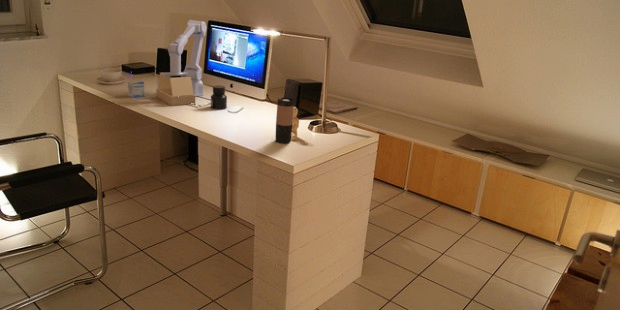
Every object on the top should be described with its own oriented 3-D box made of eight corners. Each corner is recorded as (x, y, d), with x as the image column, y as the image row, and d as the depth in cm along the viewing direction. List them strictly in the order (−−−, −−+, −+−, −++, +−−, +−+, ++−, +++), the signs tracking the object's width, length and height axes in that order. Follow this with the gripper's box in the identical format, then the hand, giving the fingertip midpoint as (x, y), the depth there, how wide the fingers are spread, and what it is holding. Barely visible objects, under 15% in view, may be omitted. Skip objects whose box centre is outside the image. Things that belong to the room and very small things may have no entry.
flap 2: (193, 94, 273) (193, 94, 272) (172, 96, 266) (172, 96, 265) (190, 76, 272) (190, 76, 272) (169, 77, 265) (170, 77, 264)
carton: (179, 95, 291) (179, 87, 289) (195, 104, 275) (195, 95, 273) (156, 97, 282) (156, 88, 280) (171, 106, 266) (171, 97, 264)
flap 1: (158, 88, 280) (158, 88, 281) (178, 87, 288) (178, 86, 288) (160, 73, 275) (160, 72, 275) (180, 72, 282) (180, 71, 282)
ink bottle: (216, 104, 278) (216, 84, 274) (229, 107, 275) (230, 86, 271) (207, 108, 269) (207, 86, 265) (221, 110, 266) (221, 89, 262)
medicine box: (132, 98, 276) (132, 83, 273) (128, 96, 278) (127, 81, 275) (144, 96, 282) (144, 81, 279) (140, 94, 284) (139, 80, 281)
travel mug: (291, 144, 222) (294, 101, 215) (274, 143, 221) (277, 100, 215) (290, 139, 229) (294, 97, 223) (274, 138, 229) (277, 96, 222)
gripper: (165, 66, 264) (166, 91, 269) (190, 66, 273) (190, 89, 277) (160, 64, 269) (161, 88, 274) (185, 63, 278) (185, 86, 282)
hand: (175, 88), depth 276 cm, fingers closed
